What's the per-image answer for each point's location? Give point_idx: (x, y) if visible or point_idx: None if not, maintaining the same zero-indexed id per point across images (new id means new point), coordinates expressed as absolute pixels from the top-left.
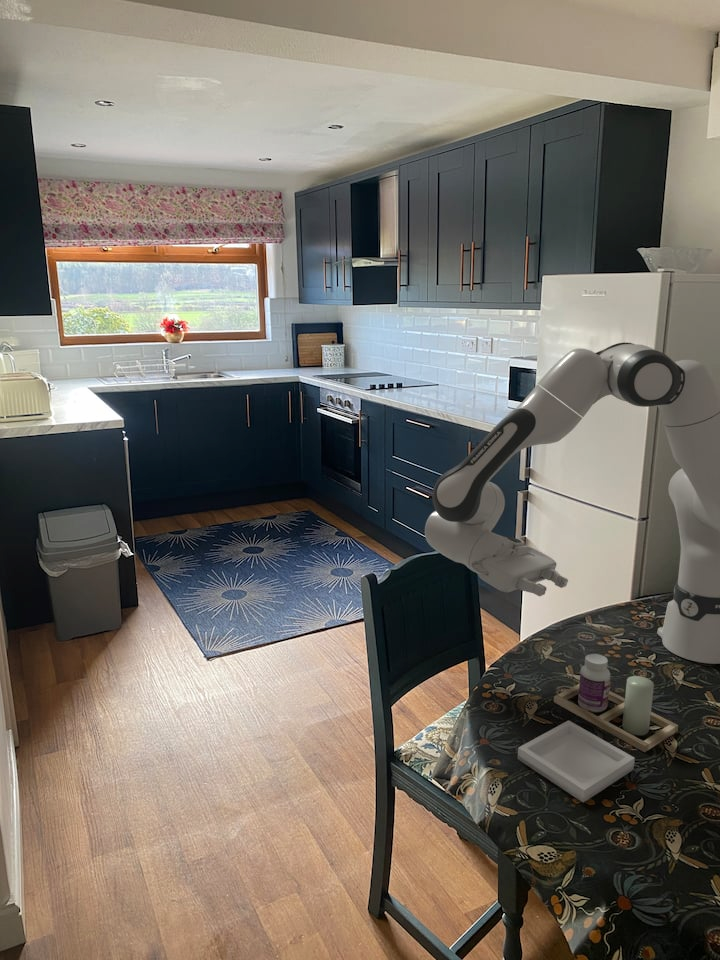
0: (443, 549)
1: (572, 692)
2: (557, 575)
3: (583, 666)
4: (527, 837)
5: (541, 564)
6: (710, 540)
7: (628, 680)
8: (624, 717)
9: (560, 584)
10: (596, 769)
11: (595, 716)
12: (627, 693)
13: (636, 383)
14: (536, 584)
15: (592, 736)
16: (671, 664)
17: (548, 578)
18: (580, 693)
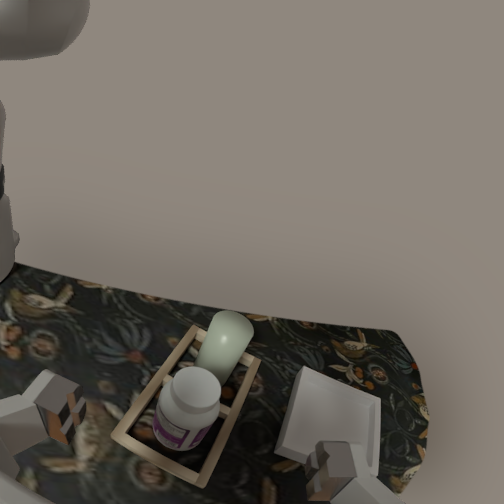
0: None
1: (168, 459)
2: (25, 412)
3: (193, 420)
4: (426, 427)
5: (1, 499)
6: None
7: (237, 340)
8: (224, 378)
9: (77, 414)
10: (332, 402)
11: (229, 418)
12: (240, 352)
13: None
14: (366, 472)
15: (297, 410)
16: (12, 301)
17: (14, 467)
18: (199, 439)
